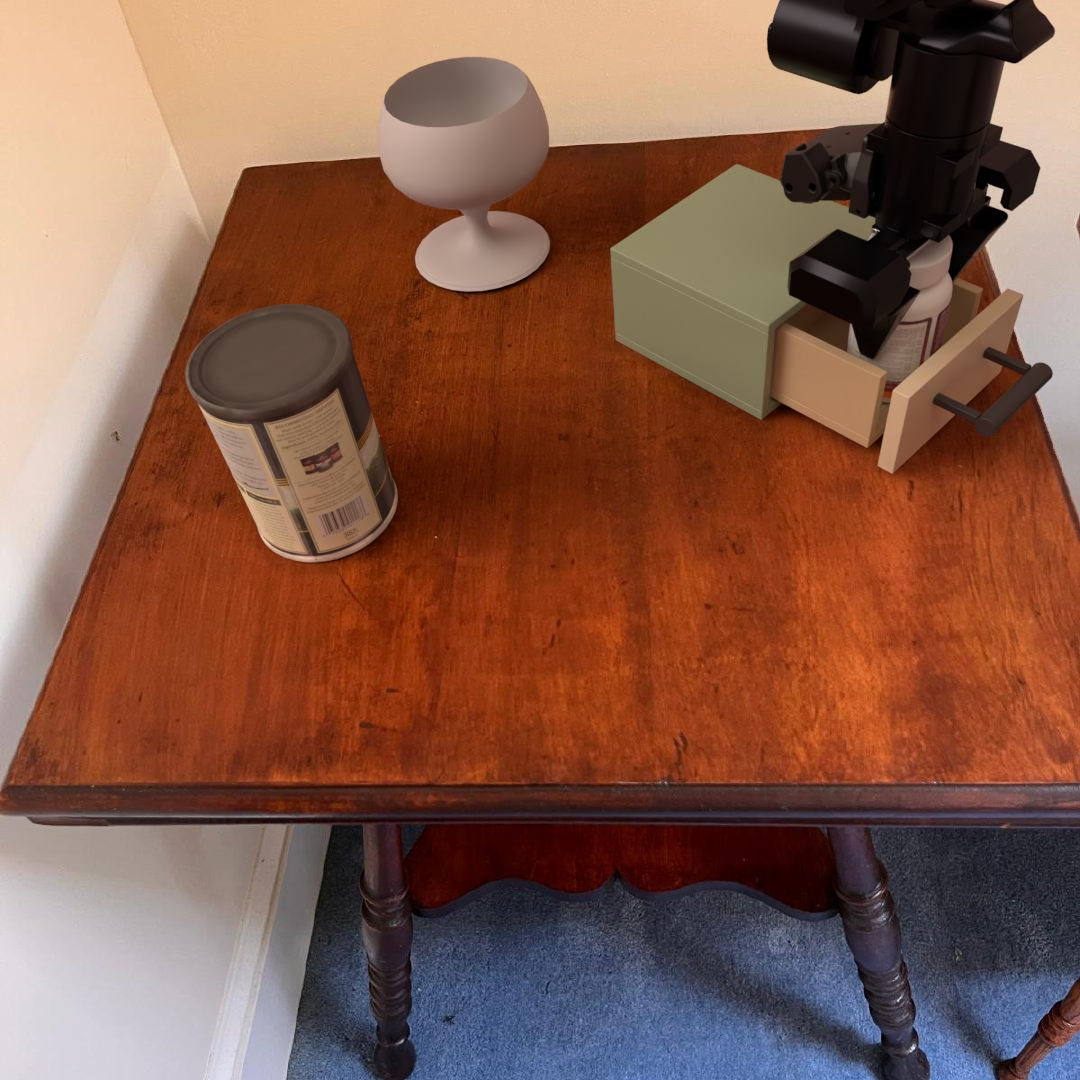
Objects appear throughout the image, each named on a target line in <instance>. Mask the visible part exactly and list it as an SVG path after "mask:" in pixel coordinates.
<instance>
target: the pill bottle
mask: <svg viewBox="0 0 1080 1080" xmlns="http://www.w3.org/2000/svg"><path fill="white" fill-rule="evenodd" d="M875 235H876V234H874V233H872V234H871V236H870V237H869V239H871V238H872V237H873V236H875ZM952 248H953V243H952V240H951V237H950V236H949V235H948V236H947V237H946V238H944V239H943V240H942V241H941V242H940V243H938V242H935V241H931V242H930V243H929V244H928V245H926V246H925V247H924V248H923V249H921V250H920V251H919V252H918V253H916V254H915V255H914V256H913V257H911V258H910V259H909V260H908V261H909V262H910V269H909V270H910V271H911V273H912V275H911V280H910V284H909V286H911V287H913V288H915V289H918V290H920V293H919V295H918V296H917V298H916V299H915V301H914V302H913V304H912V305H911V307H910V308H909V310H908V311H907V313H906V314H905V316H904V317H903V319H902V320H901V322H900V323H899V325H898V326H897V328H896V329H895V331H894V332H893V334H892V335H891V337H890V338H889V340H888V341H887V343H886V344H885V346H884V347H883V348H882V350H881V351H880V353H879V354H878V355H877V357H876V358H874V359H869V358H867V357H865V356H863V355H861V354H860V352H859V349H858V345H857V342H856V338H855V335H854V331H853V328H852V324H850V327H849V334H848V343H847V353H849V354H852V355H854V356H856V357H858V358H860V359H862V360H864V361H866V362H868V363H870V364H872V365H875V366H877V367H879V368H881V369H883V370H885V371H887V372H888V373H887V378H886V383H885V388H884V393H883V398H882V402H883V403H890V402H891V397H892V392H893V390H894V389H895V388H896V387H897V386H898V385H899V384H900V383H902V382H903V381H904V380H905V379H906V378H907V377H908V376H909V375H911V374H912V373H913V372H914V371H915V370H916V369H917V368H918V367H920V366H921V365H922V364H923V363H924V362H925V361H926V360H927V359H929V358H930V357H931V356H932V355H933V354H934V353H935V352H937V351H938V350H939V349H940V348H941V345H942V340H943V335H944V330H945V326H946V321H947V316H948V311H949V306H950V302H951V297H952V289H953V285H952V279H951V277H950V275H949V273H948V270H949V266H950V259H951V254H952Z"/></svg>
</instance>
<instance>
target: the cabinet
mask: <svg viewBox="0 0 1080 1080" xmlns="http://www.w3.org/2000/svg"><path fill="white" fill-rule="evenodd" d="M848 211H849V206H846V205H843V204H840V203H838V202H837V201H819V202H816V203H815V202H813V203H812V204H806V203H802V202H791V201H790V200H789V199H788V198H787V197H786V196H785V194H784V189H783V186H782V184H781V182H780V179H777V178H774V177H773V176H772V177H771V176H769V175H767V174H764V173H761V172H759V171H757V170H754V169H751V168H749V167H746V166H744V165H741V164H738V163H736V164H734V165H733V166H730V168H728V169H726V170H725V171H723V172H722V173H721V174H718V176H716V177H715V178H713V179H712V180H709V182H707V183H706V184H703V186H701V187H699V189H697V190H695V191H694V192H692V193H691V194H690V195H688V196H686V197H685V198H683V199H682V200H680V201H678V202H677V203H676V204H674V205H673V206H672V207H670V208H668V209H667V210H665V211H663V213H660V214H659V215H658V216H656V217H655V218H653V219H652V220H650V221H649V222H648V223H646V224H644V225H643V226H642V227H640V228H638V229H637V230H636V231H634V232H633V233H631V234H630V235H628V236H626V237H625V238H624V239H622V240H620V241H619V242H617V243H616V244H615V245H613V246H611V247H610V248H609V249H610V251H609V252H610V267H611V268H610V269H611V286H612V301H613V303H612V304H613V319H614V332H615V333H614V335H615V341H616V342H618V343H620V344H622V345H623V346H624V347H627V348H629V349H630V350H633V351H634V352H636V353H637V354H640V355H641V356H643V357H645V358H647V359H649V360H651V361H652V362H654V363H656V364H658V365H660V366H662V367H663V368H665V369H667V370H669V371H671V372H672V373H674V374H676V375H678V376H680V377H682V378H683V379H685V380H686V381H689V382H691V383H692V384H694V385H696V386H698V387H699V388H701V389H703V390H706V391H707V392H709V393H711V394H713V395H715V396H717V397H718V398H719V399H722V400H723V401H725V402H727V403H729V404H730V405H733V406H735V407H736V408H738V409H740V410H742V411H743V412H746V414H747V413H748V414H749V415H751V416H753V417H754V418H756V419H758V420H760V421H763V420H764V419H765V418H766V417H767V416H768V415H770V414H771V413H772V412H773V411H775V410H776V409H777V408H778V407H779V406H781V405H782V404H783V403H781V402H779V401H777V400H775V399H774V398H772V397H770V387H771V376H772V364H773V352H774V341H775V329H776V328H777V327H779V326H780V325H781V324H782V323H784V322H785V321H786V320H787V319H789V318H790V317H791V316H793V315H794V314H795V313H796V312H798V311H799V310H800V309H801V308H803V307H804V306H805V305H807V303H805V302H803V301H801V300H799V299H796V298H794V297H792V296H790V295H789V293H788V289H787V284H788V274H789V263H790V261H792V260H793V259H794V258H796V257H797V256H798V255H800V254H801V253H802V252H804V251H805V250H806V249H808V248H809V247H810V246H812V245H813V244H814V243H816V242H817V241H818V240H820V239H821V238H822V237H824V236H825V235H827V234H829V233H831V232H833V231H834V230H836V229H840V230H842V231H844V232H847V233H849V234H852V235H854V236H857V237H859V238H862V239H864V240H866V241H868V240H869V237H870V236H871V234H872V232H871V228H872V225H874V224H875V218H874V217H872V216H868V217H867V218H865V219H864V218H861V217H858V216H856V215H853V214H851V213H848Z"/></svg>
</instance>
